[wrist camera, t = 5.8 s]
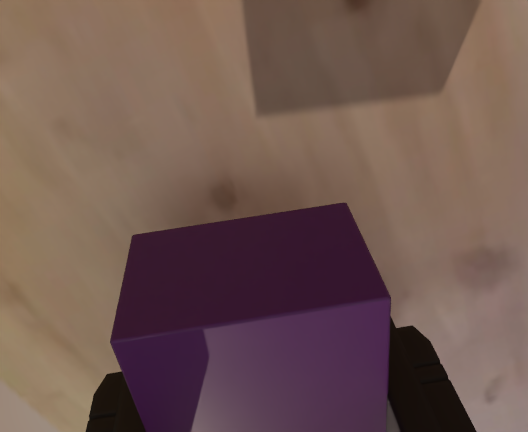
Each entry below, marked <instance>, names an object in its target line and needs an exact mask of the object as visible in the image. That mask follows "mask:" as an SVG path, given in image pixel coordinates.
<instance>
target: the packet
mask: <svg viewBox="0 0 528 432" xmlns="http://www.w3.org/2000/svg"><path fill="white" fill-rule="evenodd" d="M390 313H391V297H390V294H389V292H388V290H387V288H386V286H385V284H384V282H383V280H382V277H381V275H380V273H379V271H378V269H377V267H376V265H375V263H374V260H373V258H372V256H371V254H370V252H369V250H368V248H367V246H366V243H365V241H364V239H363V237H362V235H361V233H360V231H359V229H358V226H357V224H356V222H355V220H354V218H353V216H352V214H351V212H350V209H349V207H348V205H347V203H338V204H332V205H325V206H319V207H312V208H306V209H299V210H293V211H286V212H280V213H273V214H266V215H260V216H253V217H247V218H240V219H234V220H227V221H221V222H214V223H208V224H201V225H195V226H188V227H182V228H175V229H168V230H162V231H155V232H149V233H142V234H136V235H133V236H132V239H131V244H130V249H129V254H128V259H127V263H126V268H125V273H124V278H123V282H122V287H121V292H120V297H119V302H118V306H117V311H116V316H115V321H114V326H113V330H112V335H111V340H110V343H111V345H112V348H113V350H114V353H115V355H116V358H117V360H118V363H119V365H120V368H121V370H122V373H123V375H124V378H125V380H126V383H127V385H128V388H129V390H130V393H131V395H132V398H133V400H134V403H135V405H136V408H137V410H138V413H139V415H140V418H141V420H142V423H143V425H144V428H145V430H146V432H386V414H387V394H388V382H389V347H390Z"/></svg>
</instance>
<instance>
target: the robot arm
mask: <svg viewBox="0 0 528 432" xmlns="http://www.w3.org/2000/svg"><path fill="white" fill-rule="evenodd" d="M89 418H90V419H89V421H88V424H87V429H86V432H146V430H145V428H144V425H143V423H142V420H141V418H140V415H139V413H138V410H137V408H136V405H135V403H134V400H133V398H132V395H131V393H130V390H129V388H128V385H127V383H126V380H125V378H124V375H123V373H122V372H117V373H110V374H107V375H106V377H105V378H104V380H103V381H102V383H101V384H100V386H99V387H98V389H97V390H96V392H95V394H94V396H93V401H92V406H91V410H90V415H89ZM386 432H476V430H475V428H474V426H473V424H472V422H471V420H470V418H469V416H468V414H467V412H466V410H465V408H464V406H463V404H462V403H461V401H460V399H459V397H458V395H457V393H456V391H455V389H454V387H453V385H452V383H451V381H450V380H449V379H448V375H447V373H446V371H445V369H444V367H443V366H442V364H440V360H439V358H438V356H437V354H436V352H435V350H434V348H433V346H432V344H431V342H430V341H429V340H428V339H427V338H426V337H425V336H424V335H423V334H421V333H420V332H419V331H418V330H417V329H416V328H415V327H413V326H407V327H400V328H396V327H395V325H394V323H393V320H392V318H391V316H390V347H389V382H388V394H387V414H386Z"/></svg>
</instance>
